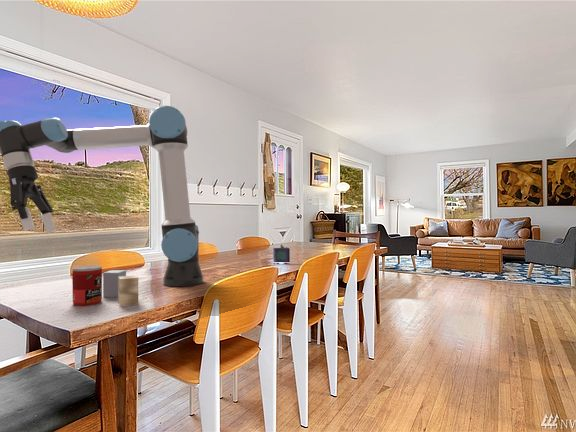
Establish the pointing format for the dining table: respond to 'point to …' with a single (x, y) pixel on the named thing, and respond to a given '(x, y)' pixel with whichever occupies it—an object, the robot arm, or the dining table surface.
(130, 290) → the beech block
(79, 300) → the canned food
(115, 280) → the slate-blue painted block
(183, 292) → the dining table surface
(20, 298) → the dining table surface
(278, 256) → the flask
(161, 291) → the dining table surface
